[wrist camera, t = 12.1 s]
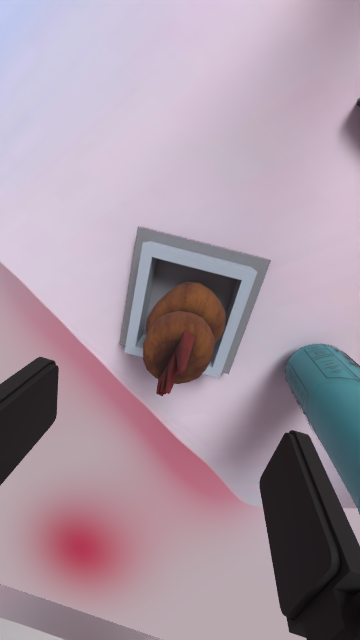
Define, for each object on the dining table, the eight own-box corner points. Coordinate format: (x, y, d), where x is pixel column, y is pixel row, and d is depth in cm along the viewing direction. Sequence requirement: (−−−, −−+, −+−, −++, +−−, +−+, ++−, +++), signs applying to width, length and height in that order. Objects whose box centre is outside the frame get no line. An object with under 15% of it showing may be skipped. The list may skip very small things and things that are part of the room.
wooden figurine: (196, 263, 23) (175, 311, 9) (233, 307, 24) (264, 410, 10) (148, 305, 25) (70, 396, 11) (183, 344, 26) (152, 471, 12)
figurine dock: (267, 258, 24) (279, 264, 19) (227, 367, 28) (230, 390, 24) (142, 227, 24) (127, 225, 20) (123, 338, 29) (109, 356, 24)
